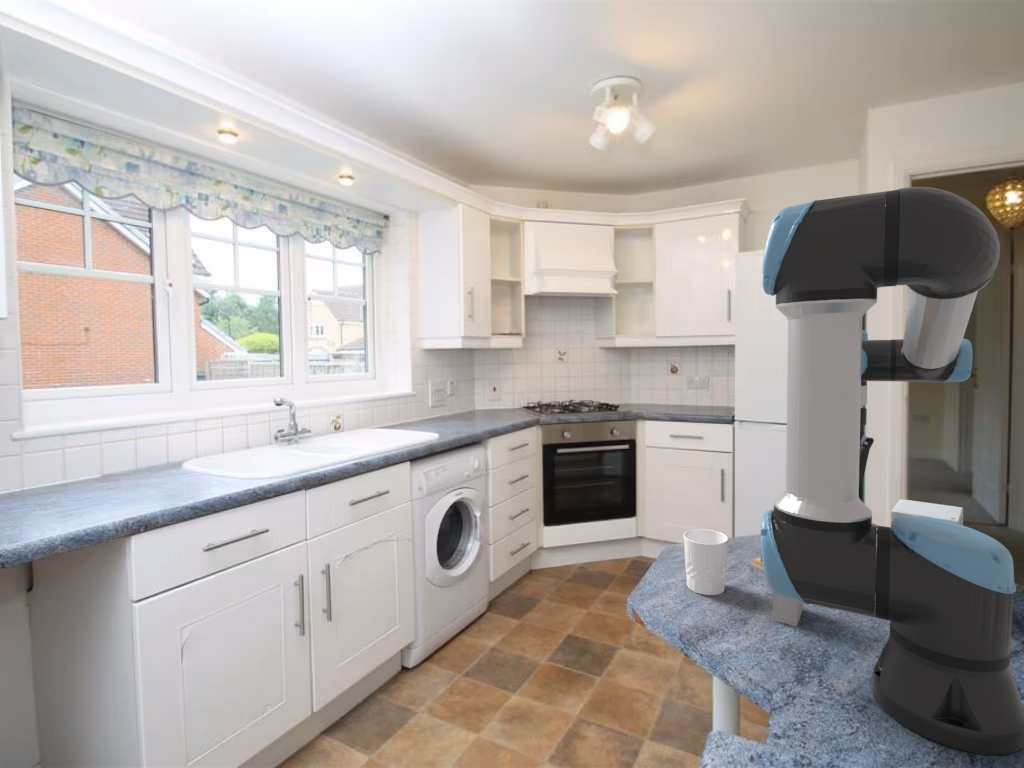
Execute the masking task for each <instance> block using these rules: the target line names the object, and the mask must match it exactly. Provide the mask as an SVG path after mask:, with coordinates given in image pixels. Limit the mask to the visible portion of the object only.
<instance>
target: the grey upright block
mask: <svg viewBox="0 0 1024 768" xmlns="http://www.w3.org/2000/svg"><path fill="white" fill-rule="evenodd" d="M771 601H772V602H771V603H772V606H771V607H772V609H771V610H772V615H771V616H772V617H771V618H772V619H771V621H772V620H774V621H773V622H776V621H779V622H778V623H780V622H783V623H782V624H784V623H787V624H790V625H789V626H791V625H794V626H793V627H795V626H797V625H799V623H798V622H800V620H799V619H801V617H802V614H803V610H804V603H802V602H801V601H798V600H795V599H791V598H787V597H783V596H780V595H778V594H777V593H775V592H774V591H773V590H772V600H771ZM800 616H801V617H800ZM787 624H786V625H787ZM797 627H798V626H797Z"/></svg>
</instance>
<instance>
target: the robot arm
mask: <svg viewBox="0 0 1024 768" xmlns="http://www.w3.org/2000/svg"><path fill="white" fill-rule="evenodd" d="M1000 247H1001V243H1000V240H999V237H998V233H997V231H996V229H995V227H994V225H993V224H992V223H991V221H990V219H989V218H988V217H987V215H985V213H984V212H983V211H982V210H980V209H979V208H978V206H976V205H975V204H973V203H972V202H970V201H969V200H967V199H966V198H963V197H961V196H959V195H957V194H956V193H953V192H951V191H947V190H943V189H941V188H935V187H929V186H909V187H901V188H899V189H893V190H886V191H885V190H884V191H879V192H878V191H877V192H872V193H863V194H857V195H856V194H855V195H848V196H847V195H846V196H841V197H839V196H838V197H834V198H833V197H832V198H825V199H818V200H817V199H816V200H811V201H810V202H806V203H801V204H797V205H792V206H787V207H784V208H782V209H780V211H778V212H777V213H776V215H774V217H773V218H772V221H771V223H770V226H769V229H768V232H767V236H766V241H765V247H764V252H763V261H762V275H763V276H762V289H763V291H764V293H765V294H766V295H770V296H771V297H773V296H775V308H776V309H777V310H778V311H779V312H780V313H781V314H783V316H785V317H786V319H787V367H786V368H787V377H786V378H787V380H786V382H787V383H786V397H787V398H786V453H785V454H786V455H785V457H786V458H785V459H786V464H785V467H786V468H785V470H786V471H785V490H784V492H783V493H781V494H779V495H778V496H777V497H776V498H775V499H774V501H773V509H769V510H765V512H764V513H762V516H761V522H760V556H761V555H762V563H763V568H764V571H763V572H764V576H765V578H766V582H767V584H768V586H769V587H770V589H771V590H772V592H773V591H774V592H775V593H777V594H778V595H780V596H783V597H787V598H791V599H795V600H798V601H801V602H802V603H803V605H804V604H805V605H815V606H819V607H824V608H828V609H834V610H837V611H843V612H847V613H851V614H852V613H853V614H858V615H862V616H865V617H866V616H867V617H872V618H877V619H880V620H886V621H889V634H888V638H887V640H886V641H885V644H884V646H883V648H882V651H881V653H880V654H879V657H878V658H877V661H876V663H875V665H874V667H873V669H872V674H871V676H872V677H871V681H872V682H871V692H872V695H873V697H874V699H875V701H876V703H877V704H878V705H879V706H880V708H881V709H882V710H883V711H885V713H887V715H889V716H890V717H891V718H892V719H893V720H895V721H897V722H898V723H899V724H901V725H902V726H904V727H906V729H909V730H911V731H912V732H914V733H916V734H918V735H920V736H922V737H924V738H927V739H929V740H931V741H933V742H936V743H938V744H942V745H944V746H946V747H950V748H954V749H956V750H957V749H958V750H961V751H964V752H970V753H975V754H981V755H995V756H996V755H1009V754H1012V753H1016V752H1018V751H1020V750H1021V749H1023V748H1024V705H1023V703H1022V699H1021V696H1020V692H1019V689H1018V686H1017V683H1016V681H1015V678H1014V676H1013V673H1012V670H1011V648H1012V628H1013V627H1012V626H1013V606H1014V605H1013V604H1014V594H1015V592H1016V591H1017V585H1016V583H1015V573H1014V572H1015V570H1014V569H1015V567H1014V560H1013V556H1012V554H1011V552H1010V550H1008V549H1007V547H1006V546H1005V545H1004V544H1002V543H1001V542H1000V541H998V540H997V539H995V538H994V537H992V536H990V535H987V533H984V532H981V531H979V530H976V529H974V528H971V527H968V526H965V525H964V524H963V525H960V524H956V523H953V522H949V521H945V520H941V519H936V518H931V517H925V516H916V515H915V516H909V515H903V516H898V517H896V518H895V519H894V520H893V522H892V523H891V527H890V526H884V525H877V524H876V525H873V524H874V523H873V520H872V519H873V510H871V508H870V507H869V506H868V505H866V504H865V503H864V502H863V501H862V500H861V498H860V497H859V495H860V494H859V493H860V492H859V490H860V485H862V484H863V482H864V478H865V477H864V476H865V472H866V468H867V463H868V458H869V454H870V450H871V448H872V445H873V444H874V442H875V440H874V438H873V437H868V436H867V435H866V434H865V431H864V428H863V427H865V426H866V424H867V413H868V412H867V410H868V409H867V408H866V407H865V406H866V405H867V404H868V382H904V383H905V382H906V383H907V382H908V383H909V382H912V383H913V382H914V383H938V384H939V383H940V384H945V383H956V382H958V383H960V382H961V383H962V382H966V381H967V380H968V379H969V378H970V376H971V375H972V374H971V373H972V368H973V346H972V343H971V341H970V340H969V339H966V338H964V336H965V333H966V330H967V327H968V324H969V321H970V318H971V314H972V312H973V308H974V304H975V301H976V299H977V296H978V293H979V292H978V291H980V290H982V289H983V288H984V287H985V286H986V285H987V284H988V283H989V282H990V281H991V280H992V278H993V277H994V274H995V272H996V269H997V266H998V264H999V260H1000V253H1001V252H1000V251H1001V248H1000ZM897 286H906V287H907V288H908V291H907V299H906V300H907V303H906V309H905V310H906V311H905V313H906V314H905V320H904V321H905V323H904V334H903V339H901V338H900V339H869V335H868V332H867V331H866V330H864V329H863V317H864V315H865V314H866V312H868V310H870V309H871V308H872V307H873V306H874V305H876V303H878V289H879V288H885V287H887V288H888V287H897ZM872 523H873V524H872ZM876 553H877V555H876Z"/></svg>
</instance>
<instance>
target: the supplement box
mask: <svg viewBox="0 0 1024 768" xmlns="http://www.w3.org/2000/svg"><path fill="white" fill-rule="evenodd" d="M903 515H909V516H915V515H916V516H925V517H931V518H936V519H941V520H945V521H949V522H953V523H956V524H960V525H963V526H964V508H963V507H960V506H954V505H949V504H948V505H947V504H941V503H940V504H939V503H935V502H934V503H932V502H924V501H917V500H910V499H905V498H904V499H902V498H899V499H898V501H897V502H896V504H895V505H894V507H893V508H892V510H891V511H890V519H889V521H890V523H889V524H890V526H889V527H891V523H892V522H893V520H894V519H895V518H896V517H898V516H903Z"/></svg>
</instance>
